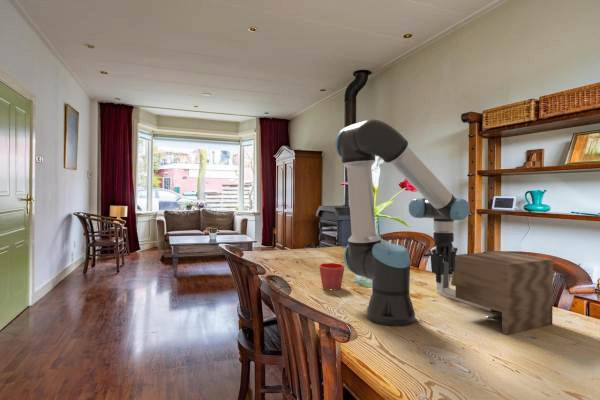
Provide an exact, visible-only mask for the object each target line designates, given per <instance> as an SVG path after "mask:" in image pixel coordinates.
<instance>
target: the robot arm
mask: <svg viewBox="0 0 600 400" xmlns="http://www.w3.org/2000/svg"><path fill="white" fill-rule="evenodd" d="M334 148H335V151H336V153H337V154H338V155H339V157H340V158H341V164H342V165H343V166H344V167H345V169H346V175H347V186H348V187H347V188H348V199H349V201H348V203H349V215H350V227H351V228H350V229H351V235H350V237H349V238H348V239H347V246H346V248H345V249H344V251H343V262H344V266H346V269H348V270H349V272H351V273H353V274H355V275H356V276H360V277H363V278H367V279H369V280H371V282H372V284H371V287H372V290H371V292H372V293H371V297H370V299H369V302H368V306H367V308H366V318H367V319H368V320H370V322H371V321H372V322H373V323H377V324H380V325H384V326H392V327H402V326H409V325H411V324H413V323H414V322H416V313H415V310H414V306H413V303H412V300H411V296H410V282H411V281H410V280H411V279H410V278H411V277H410V275H411V259H410V251H409V250H408V249H407V247H405V246H403V245H400V244H396V243H390V242H382V239H381V237H380V236H379V235H378V234H377V227H376V215H375V214H376V213H375V200H374V185H373V183H374V182H373V172H372V171H373V170H372V169H373V168H372V167H373V165H374V164H375V162H376V157H379V159H382V160H383V162H384V163H387V164H391V165H392V166H393V168H394V169H396V170H397V171H398V172H399V174H401V175H402V177H403V178H404V179H406V181H408V182H409V184H410V185H412V186H413V188H414V189H415V190H416V191H417V192H419V194H421V196H422V197H423V198H422V197H418V198H413V199H411V200H410V201H409V204H408V213H409V214H410V216H411V217H413V218H415V219H432V220H433V231H434V232H433V239H432V240H433V241H434V245H433V247H432V248H429V249H428V252H429V255H430V266H431V268H430V269H431V273H432V274H435V282H436V290H437V291H441V292H443V280H444V275H442V268H443V261H445V262H449V281H448V287H447V288H450V285H451V275H452V274H453V272H454V271H455V260H456V255H457V252H458V247H455V246H454V245H453V242H454V241H455V239H454V237H455V236H454V235H455V234H454V231H455V223H454V221H464V220H465V219H466V218H468V217H469V215H470V203H469V202H468V201H467V200H466V199H464V198H459V197H458V198H456V196H455V195H454V194H452V192H450V190H449V189H448V188H447V187H446V186H445V185H444V184H443V183H442V182H441V181H440V180H439V179H438V177H437V176H436V175H435V174H434V173H433V172H432V171H431V170H430V169H429V168H428V166H426V164H425V163H424V162H423V161H422V160H421V159H420V158H419V157H418V156H417V155H416V154H415V152H414V151H413V150H412V149H411V148H410V147H409V141H408V139H406V138H405V137H404V136H403V135H402V134H401V133H400V132H399V131H398V130H397V129H396V128H394V127H392V126H391V125H390V124H388V123H386V122H384V121H382V120H380V119H375V118H374V119H373V118H371V119H370V118H369V119H366V120H363V121H360V122H357V123H353V124H350V125H347V126H346V127H344V128H342V129H341V130H339V132H338V133H337V135H336V137H335V140H334Z"/></svg>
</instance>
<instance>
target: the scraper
mask: <svg viewBox="0 0 600 400" xmlns="http://www.w3.org/2000/svg"><path fill="white" fill-rule="evenodd" d="M442 275H444V280H443V292H441V291H438V290H437V291H436V293H437V295H441V296H443V297H445V298H449V299H452V300H455V301H458V302H461V303H464V304H466V305H470V306H472V307H476V308H479V309H482V310H484V311H488V312H495V311H496V310H493V309H490V308H487V307H484V306H481V305H478V304H474V303H471V302H468V301H465V300H462V299H459V298H456V289H455V288H454V289H453V288H450V287H449V288H447V287H448V281H449V262H445V261H443V268H442ZM496 312H497V311H496Z"/></svg>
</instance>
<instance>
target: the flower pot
mask: <svg viewBox="0 0 600 400" xmlns="http://www.w3.org/2000/svg"><path fill="white" fill-rule="evenodd" d="M344 272H345V264H341V263H335V262H331V263H330V262H328V263H327V262H326V263H321V264H319V273H320V280H321V284H322V285H321V286H322V289H324V288H325V289H324V290H326V289H332V290H331V291H335V290H334V289H339V290H341V288H342V284H343V278H344Z"/></svg>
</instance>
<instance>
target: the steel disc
mask: <svg viewBox="0 0 600 400" xmlns="http://www.w3.org/2000/svg"><path fill="white" fill-rule="evenodd" d="M484 318H485V320H488V321H492V322H502V315H499V314H495V313H485V314H484Z"/></svg>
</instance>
